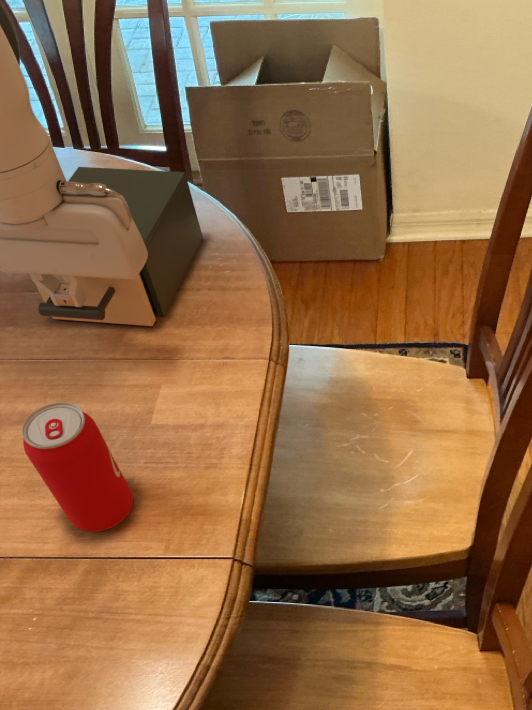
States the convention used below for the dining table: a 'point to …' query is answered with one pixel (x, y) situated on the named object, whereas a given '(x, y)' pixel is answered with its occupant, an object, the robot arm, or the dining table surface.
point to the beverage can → (77, 466)
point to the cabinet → (156, 223)
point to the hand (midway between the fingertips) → (71, 303)
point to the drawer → (106, 302)
